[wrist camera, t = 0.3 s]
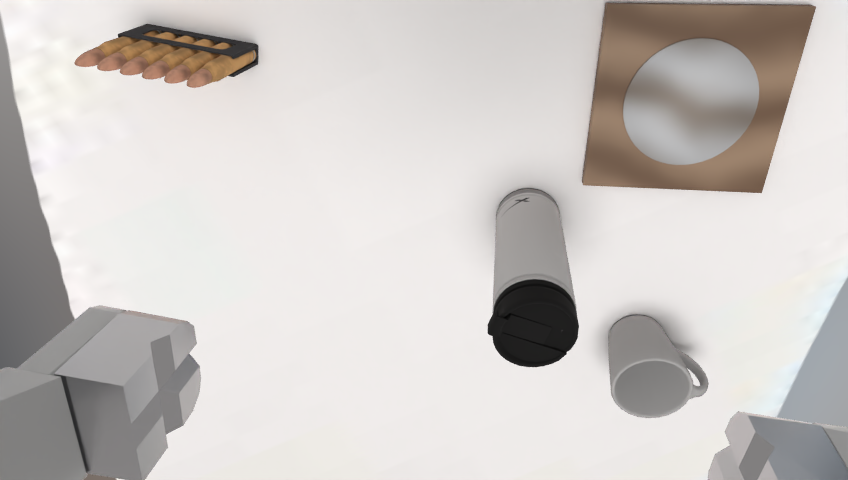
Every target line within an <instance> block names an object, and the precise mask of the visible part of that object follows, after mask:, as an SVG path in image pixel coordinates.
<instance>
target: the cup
mask: <svg viewBox="0 0 848 480" xmlns="http://www.w3.org/2000/svg"><path fill="white" fill-rule="evenodd" d="M686 367H687V368H688V369H689V370H690V371H692V372H693V373H694V374H695V376H696V377H697V379H698V380H699V382H700V386H695V385H693V380H692V378H691V375H690V373H689V371H688V369H687V368H686ZM609 370H610V384H611V395H612V397H613V399H614V401H615V403H616V404H617V405H618V406H619V407H620V408H621V409H622V410H624V411H625V412H627V413H629V414H631V415H634V416H637V417H644V418H656V417H662V416H666V415H669V414H671V413H673V412H675V411H677V410H679V409H680V408H681V407H683V406H684V405H685V404H686V402H687V401H688V400H689V399H691V398H694V397H700V396H702V395H703V394H704V393H705V392H706V391H707V388H708V379H707V377H706V374H705V373H704V371H703V370H702V368H701V367H700V366H699V365H698V364H697V363H696V362H695V361H694V360H693V359H692V358H690V357H689V356H688V355H686V354H684V353H683V352H681V351H679V350H677V349H675V347H674V346H673V344H672V342H671V341H670V339H669V338H668V336H667V335H666V333H665V332H664V330H663V329H662V327H661V326H660V325H659V323H658V322H657V321H655V320H654V319H652V318H650V317H647V316H642V315H634V316H628V317H625V318H623V319H621V320H619V321H618V322H617V323H616V324H614V325H613V327H612V328H611V330H610V333H609Z"/></svg>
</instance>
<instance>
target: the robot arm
mask: <svg viewBox="0 0 848 480" xmlns="http://www.w3.org/2000/svg"><path fill="white" fill-rule="evenodd" d="M196 344H197V342H196V336H195V330H194V326H193V325H192V324H190V323H189V322H188V321H184V320H178V319H173V318H168V317H162V316H157V315H152V314H146V313H141V312H136V311H130V310H129V311H126V310H122V309H117V308H111V307H106V306H100V305H99V306H95V307H90V308H88V309H87V310H86V311H85V312H84V313H83V314H81V315H80V316H79V317H78V318H77V319H75V320H74V321H73V322H72V323H71V324H69V325H68V326H67V327H66V328H65V329H63V330H62V331H61V332H60V333H59V334H58V335H57V336H55V337H54V338H53V339H52V340H50V341H49V342H48V343H47V344H46V345H44V346H43V347H42V348H41V349H40V350H38V351H37V352H36V353H35V354H34V355H32V356H31V357H30V358H29V359H28V360H26V361H25V362H24V363H23V364H22V365H20V366H19V367H18V368H17V369H15V368H9V367H6V368H3V369H0V480H83V479H84V478H86V477H87V473H88V474H94V475H100V476H107V477H113V478H119V479H125V480H145V479H146V477H147V476H148V474H149V473H150V472H151V470H152V469H153V467H154V466H155V465H156V463H157V462H158V460H159V459H160V458H161V456H162V455H163V453H164V452H165V451H166V449H167V448H168V445H167V438H166V434H168V433H170V432H171V431H173V430H175V429H177V428H179V427H181V426H183V425H184V423H185V422H186V420H187V419H188V417H189V416H190V415H191V413H192V412H193V409H194V406H195V404H196V401H197V398H198V395H199V392H200V382H201V375H200V366H199V365H198V364H197V362H196V361H195V360H194V359H193V358H192V356H191V355H190V354H189V353H190V351H191V350H192V349H193V347H194V346H195V345H196ZM725 434H726V436H727V439H728V441H729V444H730V446H728V447H726V448H725V449H723V450H721V451H720V452H718V453H716V454H715V456H714V458H713V461H712V464H711V466H710V469H709V472H708V480H848V427H842V426H835V425H828V424H821V423H808V422H801V421H795V420H789V419H782V418H776V417H770V416H764V415H757V414H751V413H745V412H737V413H736V414H735V415H734V416H733V417H732V418H731V419H730V421H729V423H728V426H727V428H726V430H725Z"/></svg>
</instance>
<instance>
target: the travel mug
mask: <svg viewBox="0 0 848 480" xmlns="http://www.w3.org/2000/svg"><path fill="white" fill-rule="evenodd" d="M578 328H579V325H578V319H577V311H576V303H575V297H574V291H573V286H572V280H571V274H570V269H569V263H568V258H567V252H566V246H565V241H564V235H563V229H562V224H561V218H560V212H559V209H558V206H557V204H556V202H555V201H554V200H553V199H552V197H550V196H549V195H548V194H546V193H544V192H542V191H540V190H536V189H521V190H518V191H515V192H513V193H511V194H509V195H508V196H507V197H505V198H504V200H503V201H502V202H501V203H500V205H499V207H498V210H497V214H496V237H495V264H494V291H493V315H492V317H491V319H490V321H489V323H488V334H489V335H492V336H493V343H494V345H495V348H496V350H497V351H498V352H499V354H500V355H501V356H502V357H503V358H505V359H506V360H508V361H509V362H511V363H514V364H516V365H519V366H525V367H539V366H545V365H549V364H552V363H554V362H557V361H559V360H560V359H561V358H562V357H564V356H565V355H566V354H567V353H566V352H567V351H569V350H570V349H571V348H572V347H573V345H574V344H575V342H576V340H577V338H578Z"/></svg>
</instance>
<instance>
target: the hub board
mask: <svg viewBox="0 0 848 480" xmlns="http://www.w3.org/2000/svg"><path fill="white" fill-rule="evenodd" d="M815 9H816V7H815V6H812V5H759V4H667V3H606V4H605V12H604V19H603V27H602V34H601V42H600V49H599V57H598V64H597V72H596V79H595V87H594V94H593V102H592V109H591V117H590V124H589V132H588V140H587V147H586V155H585V162H584V170H583V177H582V183H583V185H591V186H614V187H637V188H659V189H682V190H705V191H728V192H751V193H762V190H763V187H764V183H765V180H766V176H767V173H768V170H769V166H770V163H771V159H772V156H773V152H774V149H775V146H776V142H777V139H778V135H779V132H780V128H781V125H782V122H783V118H784V115H785V111H786V108H787V104H788V101H789V98H790V94H791V91H792V87H793V84H794V80H795V77H796V74H797V70H798V67H799V63H800V60H801V56H802V53H803V50H804V46H805V43H806V39H807V36H808V33H809V29H810V26H811V22H812V19H813V15H814V12H815Z"/></svg>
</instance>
